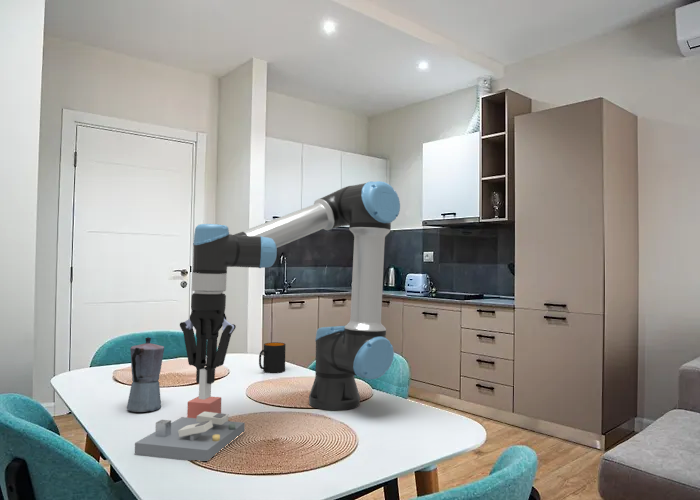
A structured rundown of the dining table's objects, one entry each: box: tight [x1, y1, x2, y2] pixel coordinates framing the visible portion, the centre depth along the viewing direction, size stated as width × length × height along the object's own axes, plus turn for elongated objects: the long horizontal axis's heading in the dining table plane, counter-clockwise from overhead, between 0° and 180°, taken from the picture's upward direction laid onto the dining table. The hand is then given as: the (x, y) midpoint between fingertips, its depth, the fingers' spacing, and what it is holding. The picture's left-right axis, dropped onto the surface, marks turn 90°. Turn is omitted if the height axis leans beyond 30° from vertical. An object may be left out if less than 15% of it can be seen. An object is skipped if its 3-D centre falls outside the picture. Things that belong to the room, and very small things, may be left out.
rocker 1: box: [178, 420, 213, 437], centre depth 114 cm, size 6×4×2 cm, turn 78°
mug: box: [258, 342, 286, 374], centre depth 195 cm, size 8×12×10 cm
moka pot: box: [126, 337, 165, 413], centre depth 144 cm, size 10×15×20 cm, turn 2°
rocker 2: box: [197, 412, 230, 425], centre depth 122 cm, size 6×4×2 cm, turn 78°
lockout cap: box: [186, 395, 222, 418], centre depth 136 cm, size 6×6×5 cm
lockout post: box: [154, 419, 172, 437], centre depth 116 cm, size 2×2×3 cm
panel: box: [134, 416, 246, 462], centre depth 118 cm, size 17×19×4 cm
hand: (204, 397), depth 115 cm, fingers closed
